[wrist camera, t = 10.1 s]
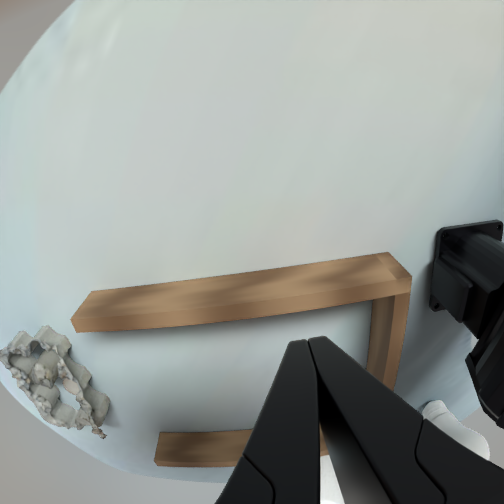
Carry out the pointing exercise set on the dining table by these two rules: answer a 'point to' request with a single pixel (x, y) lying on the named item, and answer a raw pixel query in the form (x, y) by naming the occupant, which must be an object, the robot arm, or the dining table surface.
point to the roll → (329, 483)
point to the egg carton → (44, 376)
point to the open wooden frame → (252, 306)
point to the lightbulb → (455, 428)
